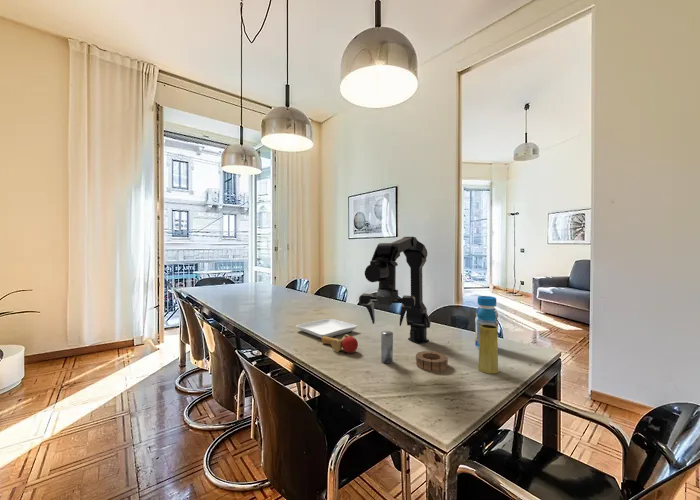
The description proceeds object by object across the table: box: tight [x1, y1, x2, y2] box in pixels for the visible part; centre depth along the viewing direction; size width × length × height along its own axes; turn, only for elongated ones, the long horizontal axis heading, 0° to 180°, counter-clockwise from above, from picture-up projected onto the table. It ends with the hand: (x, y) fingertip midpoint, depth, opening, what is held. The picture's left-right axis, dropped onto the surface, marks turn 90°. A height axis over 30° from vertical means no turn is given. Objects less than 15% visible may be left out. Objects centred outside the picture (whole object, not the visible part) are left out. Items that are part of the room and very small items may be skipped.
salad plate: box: [295, 317, 359, 339], centre depth 140 cm, size 21×21×3 cm
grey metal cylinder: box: [380, 330, 394, 365], centre depth 104 cm, size 4×4×10 cm
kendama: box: [320, 333, 359, 354], centre depth 118 cm, size 8×6×18 cm
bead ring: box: [415, 350, 449, 372], centre depth 102 cm, size 10×10×3 cm
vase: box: [477, 324, 500, 375], centre depth 98 cm, size 6×6×14 cm
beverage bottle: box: [474, 295, 499, 349], centre depth 119 cm, size 8×8×20 cm
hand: (386, 324), depth 104 cm, fingers open, 9 cm apart
